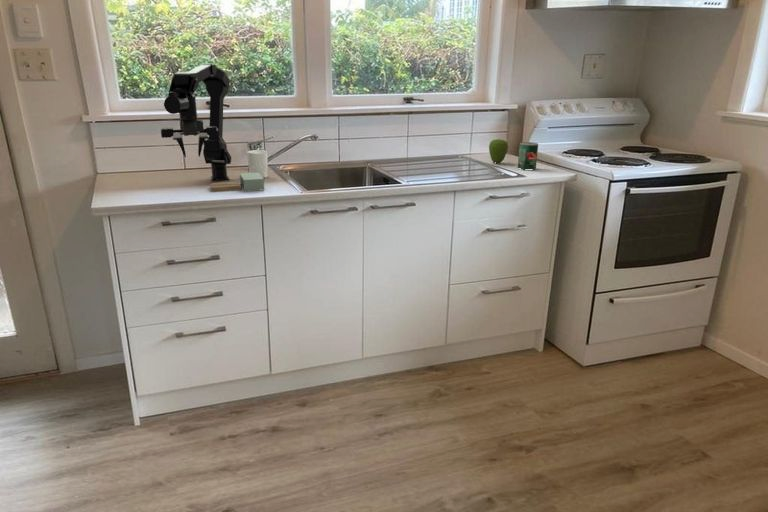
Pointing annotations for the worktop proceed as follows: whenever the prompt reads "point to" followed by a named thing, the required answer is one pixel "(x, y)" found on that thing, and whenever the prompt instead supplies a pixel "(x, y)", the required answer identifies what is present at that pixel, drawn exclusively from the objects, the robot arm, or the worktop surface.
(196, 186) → the worktop surface
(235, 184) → the board
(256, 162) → the white cup
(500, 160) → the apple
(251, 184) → the green channel beam
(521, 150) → the canned tomato
